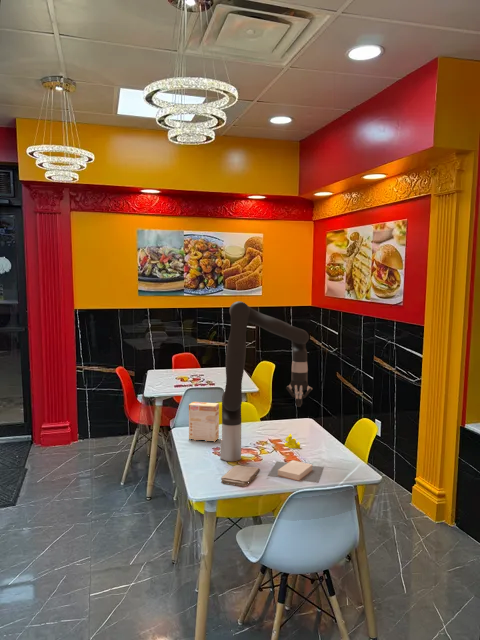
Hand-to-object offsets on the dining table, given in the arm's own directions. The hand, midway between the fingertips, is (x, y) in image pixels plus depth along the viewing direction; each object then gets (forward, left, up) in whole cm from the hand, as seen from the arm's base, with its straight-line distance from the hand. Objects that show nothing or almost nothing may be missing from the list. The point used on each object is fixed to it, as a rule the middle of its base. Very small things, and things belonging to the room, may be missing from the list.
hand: (298, 406), depth 228 cm
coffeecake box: (-53, +10, -25) cm, 60 cm away
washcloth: (-19, -32, -26) cm, 45 cm away
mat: (+3, -20, -25) cm, 32 cm away
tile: (+5, -15, -23) cm, 28 cm away
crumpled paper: (-5, +12, -25) cm, 29 cm away
